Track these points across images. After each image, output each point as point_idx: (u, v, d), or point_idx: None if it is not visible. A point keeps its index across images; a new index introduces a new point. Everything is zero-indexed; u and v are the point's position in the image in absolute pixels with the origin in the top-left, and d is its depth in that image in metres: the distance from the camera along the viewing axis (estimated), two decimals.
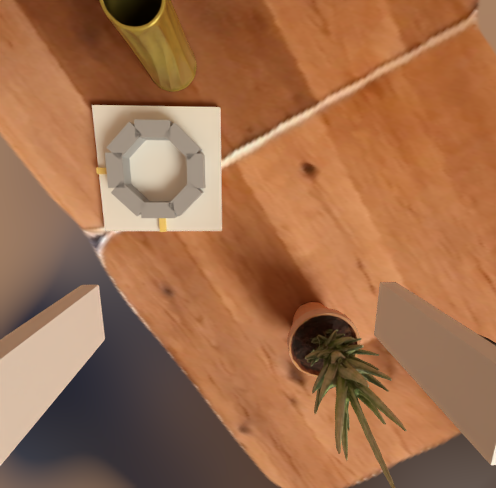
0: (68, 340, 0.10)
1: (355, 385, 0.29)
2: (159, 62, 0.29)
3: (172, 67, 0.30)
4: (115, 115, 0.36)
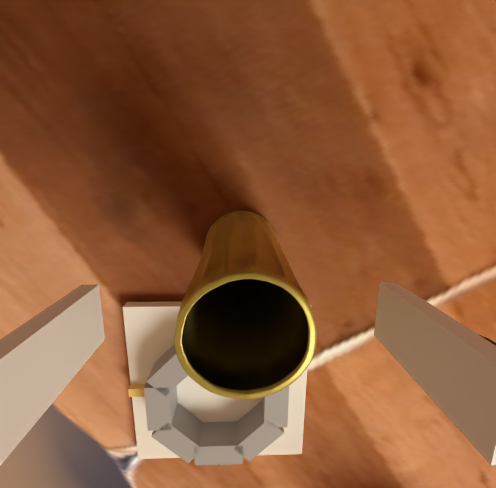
0: (68, 340, 0.10)
1: None
2: None
3: None
4: (157, 319, 0.24)
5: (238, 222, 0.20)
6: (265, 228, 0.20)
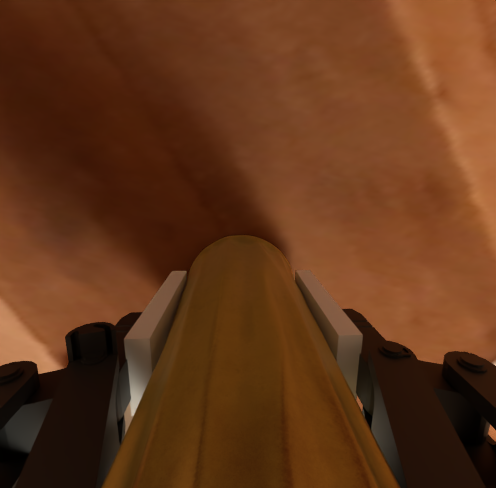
0: None
1: None
2: None
3: None
4: None
5: (236, 260, 0.12)
6: (280, 270, 0.12)
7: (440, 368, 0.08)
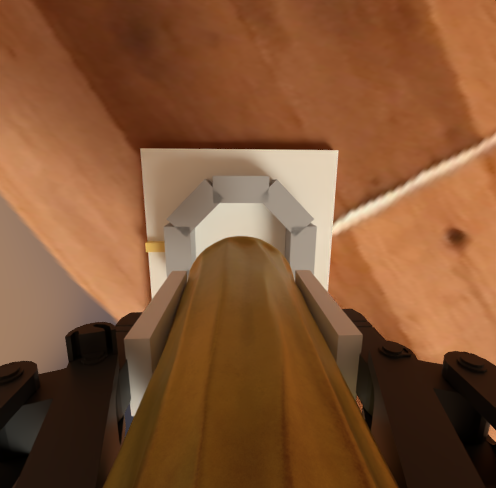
0: None
1: None
2: None
3: None
4: (176, 164, 0.23)
5: (236, 261, 0.12)
6: (280, 271, 0.12)
7: (440, 368, 0.08)
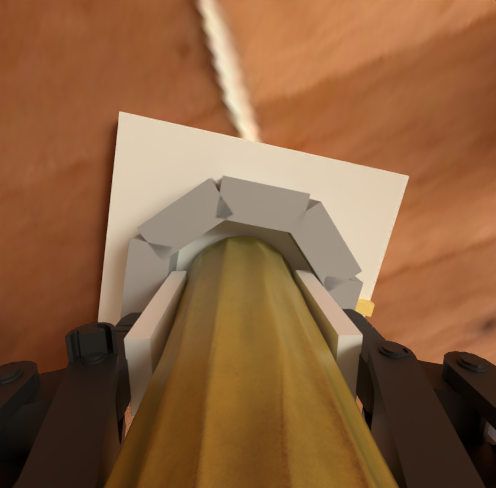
0: None
1: None
2: None
3: None
4: None
5: (236, 261, 0.12)
6: (280, 271, 0.12)
7: (440, 368, 0.08)
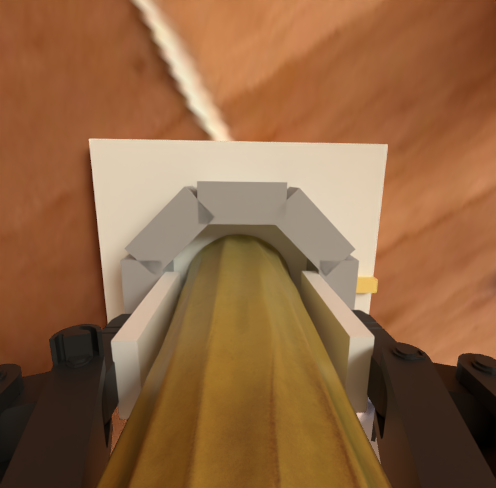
0: (169, 316, 0.12)
1: None
2: None
3: None
4: None
5: (234, 258, 0.13)
6: (276, 267, 0.12)
7: (454, 370, 0.08)
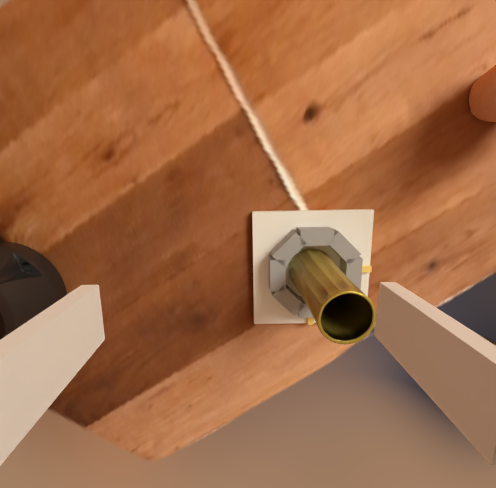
0: (68, 340, 0.10)
1: None
2: None
3: None
4: (262, 305, 0.40)
5: (316, 258, 0.35)
6: (332, 261, 0.34)
7: None
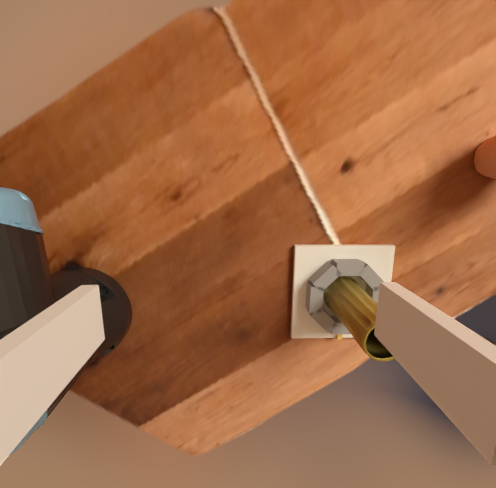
0: (68, 340, 0.10)
1: None
2: None
3: None
4: (299, 323, 0.47)
5: (350, 287, 0.42)
6: (363, 290, 0.42)
7: None
